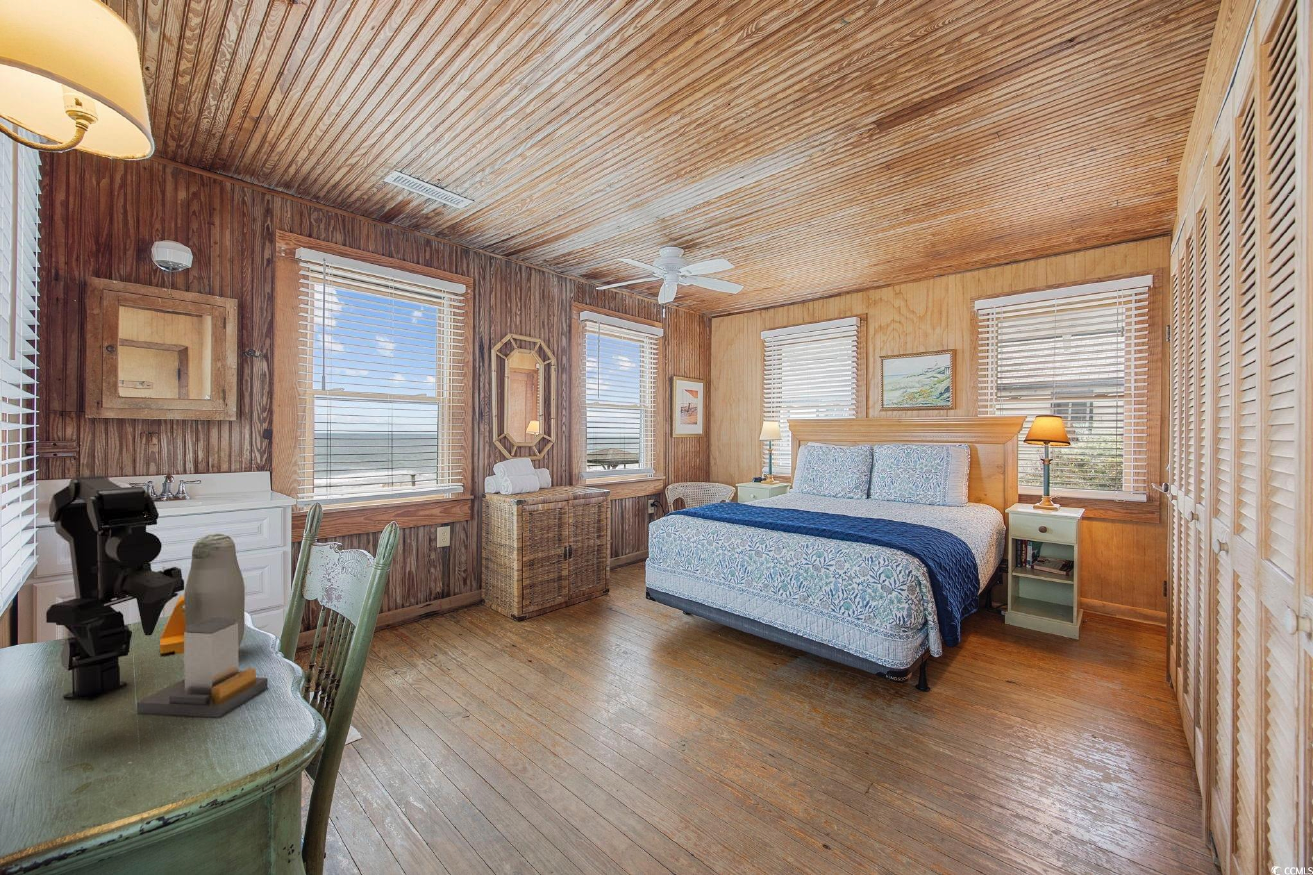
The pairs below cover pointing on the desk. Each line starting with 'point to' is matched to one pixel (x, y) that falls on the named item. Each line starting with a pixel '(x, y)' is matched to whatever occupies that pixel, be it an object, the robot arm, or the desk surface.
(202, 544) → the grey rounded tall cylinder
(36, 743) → the desk surface
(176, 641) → the bracket
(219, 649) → the block
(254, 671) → the grey base plate
